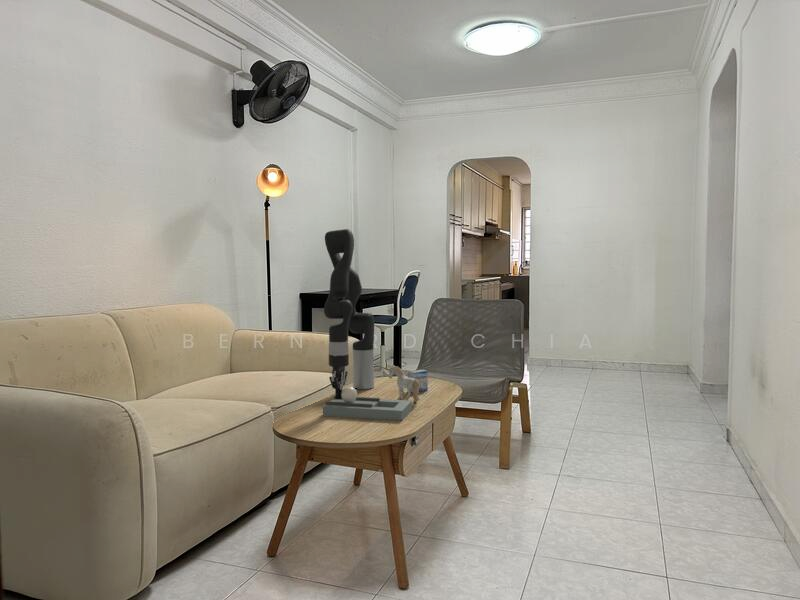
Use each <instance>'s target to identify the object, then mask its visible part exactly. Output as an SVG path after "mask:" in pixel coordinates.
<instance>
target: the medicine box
mask: <svg viewBox="0 0 800 600" xmlns="http://www.w3.org/2000/svg"><path fill="white" fill-rule="evenodd" d="M428 374H429V372H428V370H426V369H417V370H412V371H407V377H408V378H414V379H416V380H417V381H418V382H419V385H420V386H419V391H421V392H424V391H423V390H426V391H428V390H429V375H428ZM427 389H428V390H427ZM410 391H411V393H413V388H411V390H410Z"/></svg>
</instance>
